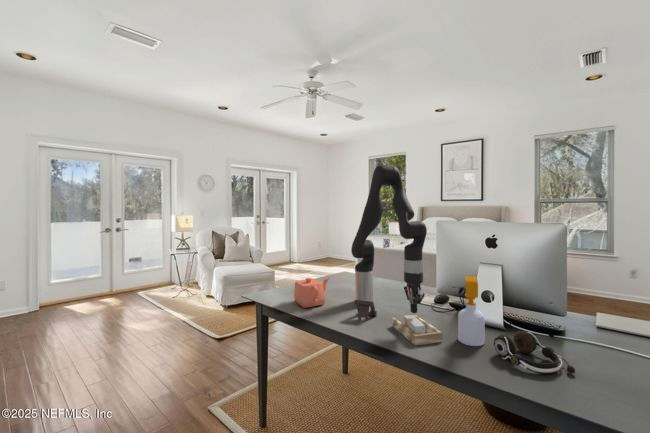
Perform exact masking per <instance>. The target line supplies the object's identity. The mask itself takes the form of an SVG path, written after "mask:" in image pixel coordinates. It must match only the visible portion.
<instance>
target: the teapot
mask: <svg viewBox="0 0 650 433" xmlns="http://www.w3.org/2000/svg"><path fill="white" fill-rule="evenodd" d="M330 279H331V277H326V278H324V279H323V281H322V282H321V281H320V280H317V279H315V278H312V277H306V278H305V279H301V280H300V279H299V280H296V281H295V282H294V290H293V292H294V294H293V298H294V301H296V302H295V303H297V305H299V306H301V307H302V308H305V309H306V308H307V309H308V308H313V307H316V306H322V305H325V301H326V300H325V299H326V297H325V296H326V294H325V293H326V289H327V282H328V280H330Z"/></svg>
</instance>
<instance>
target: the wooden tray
mask: <svg viewBox="0 0 650 433" xmlns="http://www.w3.org/2000/svg"><path fill="white" fill-rule="evenodd" d="M413 315H414V314H413ZM414 316H415V317H416V318H417V319H418V320H419V321H420V322H421V323H423V324H424V325H425V334H415V333H414V332H413V331H411V330H410V329H409V328H408V327H406V326H405V325H404V323H402V322H401V321H400V320H398V319H397V318H396V317H392V320H391V321H392V328H394V329H395V330H396V331H398V332H399V333H400V334H401V335H402V336H404V337H405V338H406V339H407V340H408V341H409V342H411V343H412V344H413V345H414V346H421V345H429V344H435V343H443V341H444V340H443V336H444V335H443V334H444V333H443V332H442V330H439V329H438V328H436V327H435V326H433V325H432V324H430V323H429V322H427V321H426V320H424V319H423V318H421V317H420V316H419V315H417V314H415V315H414Z"/></svg>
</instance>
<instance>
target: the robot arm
mask: <svg viewBox="0 0 650 433" xmlns="http://www.w3.org/2000/svg"><path fill="white" fill-rule="evenodd" d="M371 177H372V178H371V183H370V186H369V192H368V195H367V196H368V197H367V200H366V202H365V205H364V209H363V213H362V217H361V220H360V223H359V226H358V229H357V232H356V235H355V237H354V239H353V242H352V244H351V249H350V250H351V251H350V252H351V255H352V257H353V258H354V259H362V260H360V261H359V262H358V263H356V264H355V266H354V271H355V272H354V273H355V274H354V275H355V279H354V280H355V284H354V285H355V300H362V301H371V302H374V272H373V271H374V265H375V246H374V243H373V241H372V240H371V239H368V237H369V235H371V234H372V232H374V230H376V228H377V227H378V226H379V224H380V222H381V221H382V217H383V214H384V207H383V202H382V200H381V194H380V193H381V189H382V187H383V186H387V187H388V186H389V187H392V189H393V197H392V198H393V199H392V208H393V210H394V213H395V215H396V218H397V223H398V229H399V234H400V236H401V237H402V238H403V239H405V240H412V239H413V240H412V242H411V243H409V244H407V245H406V244H405V246H404V250H403V251H404V257H403V258H404V259H403V260H404V263H403V282H404V283H406V286H403V290H404V293H405V296H406V299H407V300H408V301H409V303H410V305H409V306H410V312H411V313H412V314H417V313H418V305H421V303H422V302H423V299H424V298H425V293H423V292H422V287H421V285H422V283H423V282H424V263H423V248H424V244H425V242H426V241H425V240H426V237H427V233H428V230H427V229H428V228H427V226H426V224H425V223H424V221H421V220H415V221H413V219H414V217H415V211H414V209H413V207H412V205H411V203H410V201H409V198H408V196H407V194H406V190H405V187H404V184H403V179H402V176H401V172H400V170H399V169H398V167H396V166H394V165H385V164H379V165H377V166H376V167H375V168H374V170H373V172H372V176H371ZM411 220H412V221H411Z"/></svg>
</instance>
